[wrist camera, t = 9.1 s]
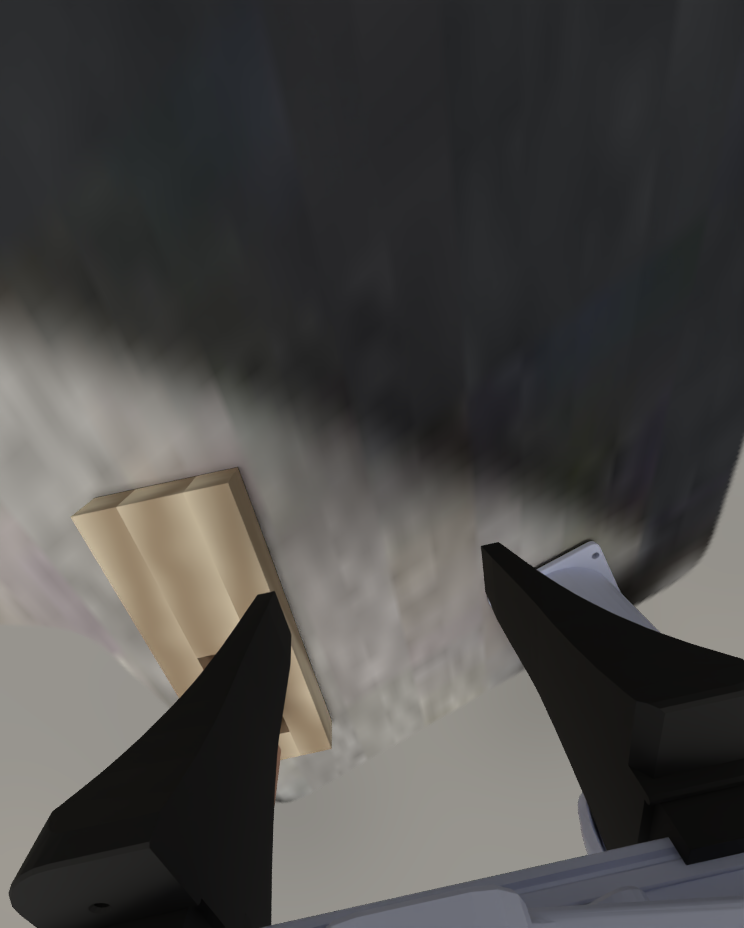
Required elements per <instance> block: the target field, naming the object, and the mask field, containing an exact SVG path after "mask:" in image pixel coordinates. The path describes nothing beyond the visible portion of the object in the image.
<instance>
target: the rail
mask: <svg viewBox="0 0 744 928" xmlns="http://www.w3.org/2000/svg"><path fill="white" fill-rule="evenodd" d="M71 518H72V520H73V522H74V523H75V525H76V527H77V528H78V530H79V532H80V533H81V535H82V537H83V538H84V540H85V542H86V543H87V545H88V547H89V548H90V550H91V552H92V553H93V555H94V557H95V558H96V560H97V562H98V563H99V565H100V567H101V568H102V570H103V572H104V573H105V575H106V577H107V578H108V580H109V582H110V583H111V585H112V587H113V588H114V590H115V592H116V593H117V595H118V597H119V598H120V600H121V602H122V604H123V605H124V607H125V609H126V610H127V612H128V614H129V615H130V617H131V619H132V620H133V622H134V624H135V625H136V627H137V629H138V630H139V632H140V634H141V635H142V637H143V639H144V640H145V642H146V644H147V645H148V647H149V649H150V650H151V652H152V654H153V655H154V657H155V659H156V660H157V662H158V664H159V665H160V667H161V669H162V670H163V672H164V674H165V675H166V677H167V679H168V680H169V682H170V684H171V685H172V687H173V689H174V690H175V692H176V694H177V695H178V697H179V698H180V697H181V696H182V695H183V694H184V692H185V691H186V690H187V689H188V688H189V687H190V686H191V685H192V683H193V682H194V681H195V680H196V679H197V677H198V676H199V675H200V674H201V673H202V671H203V670H204V669H205V667H206V666H207V665H208V664H209V662H210V661H211V660H212V658H213V657H214V656H215V654H216V653H217V652H218V651H219V649H220V648H221V647H222V645H223V644H224V642H225V641H226V640H227V638H228V637H229V635H230V634H231V632H232V631H233V630H234V628H235V627H236V625H237V624H238V622H239V621H240V619H241V618H242V616H243V615H244V613H245V612H246V610H247V609H248V608H249V606H250V605H251V603H252V602H253V600H254V599H255V597H256V596H257V595H258V594H263V593H267V592H272V591H275V593H276V595H277V598H278V600H279V603H280V606H281V608H282V611H283V613H284V616H285V619H286V621H287V624H288V627H289V629H290V632H291V634H292V635H291V665H290V672H289V678H288V685H287V691H286V698H285V704H284V710H283V717H282V723H281V729H280V735H279V744H278V745H279V747H280V749H281V757H280V760H283V759H287V758H292V757H296V756H301V755H305V754H310V753H315V752H319V751H324V750H328V749H331V748H332V720H331V718H330V715H329V712H328V710H327V707H326V704H325V701H324V699H323V696H322V693H321V691H320V688H319V685H318V683H317V680H316V677H315V675H314V672H313V669H312V666H311V664H310V661H309V658H308V656H307V653H306V650H305V648H304V645H303V642H302V639H301V637H300V634H299V631H298V629H297V626H296V623H295V621H294V618H293V615H292V613H291V610H290V607H289V604H288V602H287V599H286V596H285V594H284V591H283V588H282V586H281V583H280V580H279V577H278V575H277V572H276V569H275V567H274V564H273V561H272V559H271V556H270V553H269V551H268V548H267V545H266V542H265V540H264V537H263V534H262V532H261V529H260V526H259V524H258V521H257V518H256V515H255V513H254V510H253V507H252V505H251V502H250V499H249V497H248V494H247V491H246V489H245V486H244V483H243V480H242V478H241V475H240V472H239V470H238V467H236V468H232V469H227V470H223V471H218V472H213V473H209V474H204V475H199V476H195V477H190V478H186V479H181V480H176V481H172V482H167V483H162V484H158V485H153V486H149V487H144V488H139V489H135V490H130V491H125V492H121V493H116V494H111V495H107V496H102V497H98V498H94V499H93V500H91V501H90V502H89V503H88V504H86V505H85V506H84V507H83V508H81V509H80V510H79V511H78V512H76V513H75V514H74V515H72V516H71Z"/></svg>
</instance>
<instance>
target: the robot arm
mask: <svg viewBox="0 0 744 928" xmlns="http://www.w3.org/2000/svg"><path fill="white" fill-rule="evenodd" d="M481 551H482V561H483V572H484V582H485V592H486V594H487V597H488V602H489V604H490V606H491V607H492V609H493V611H494V613H495V616H496V618H497V620H498V622H499V624H500V625H501V627H502V629H503V631H504V633H505V634H506V636H507V638H508V640H509V641H510V643H511V645H512V647H513V648H514V650H515V652H516V654H517V655H518V657H519V659H520V660H521V662H522V664H523V666H524V667H525V669H526V671H527V673H528V674H529V676H530V678H531V680H532V681H533V683H534V685H535V687H536V689H537V691H538V693H539V695H540V697H541V699H542V701H543V703H544V706H545V707H546V710H547V712H548V714H549V717H550V719H551V721H552V723H553V725H554V727H555V730H556V732H557V734H558V736H559V739H560V741H561V743H562V745H563V748H564V750H565V752H566V754H567V757H568V759H569V761H570V764H571V766H572V768H573V771H574V773H575V775H576V778H577V780H578V782H579V785H580V787H581V789H582V794H581V795H580V797H579V801H578V814H579V820H580V825H581V832H582V837H583V841H584V844H585V848H586V851H587V854H588V855H586V856H581V857H577V858H572V859H567V860H563V861H558V862H555V863H549V864H545V865H541V866H536V867H532V868H527V869H522V870H518V871H514V872H509V873H505V874H500V875H496V876H491V877H487V878H482V879H478V880H473V881H469V882H464V883H460V884H455V885H451V886H446V887H442V888H437V889H433V890H428V891H424V892H419V893H415V894H411V895H406V896H401V897H397V898H392V899H388V900H383V901H379V902H375V903H370V904H365V905H361V906H356V907H352V908H348V909H343V910H338V911H334V912H330V913H325V914H321V915H316V916H311V917H307V918H302V919H298V920H294V921H289V922H284V923H280V924H275V925H271V898H272V891H271V890H272V848H273V820H274V800H275V782H276V767H277V752H278V744H279V735H280V729H281V723H282V717H283V710H284V704H285V698H286V691H287V685H288V678H289V672H290V665H291V635H292V634H291V632H290V629H289V627H288V624H287V621H286V619H285V616H284V613H283V611H282V608H281V606H280V603H279V600H278V598H277V595H276V593H275V591H272V592H267V593H263V594H258V595H257V596H256V597H255V599H254V600H253V602H252V603H251V605H250V606H249V608H248V609H247V610H246V612H245V613H244V615H243V616H242V618H241V619H240V621H239V622H238V624H237V625H236V627H235V628H234V630H233V631H232V632H231V634H230V635H229V637H228V638H227V640H226V641H225V642H224V644H223V645H222V647H221V648H220V649H219V651H218V652H217V653H216V654H215V656H214V657H213V658H212V660H211V661H210V662H209V664H208V665H207V666H206V667H205V669H204V670H203V671H202V673H201V674H200V675H199V676H198V677H197V679H196V680H195V681H194V682H193V683H192V685H191V686H190V687H189V688H188V689H187V690H186V691H185V692H184V694H183V695H182V696H181V697H180V698H179V699H178V700H177V701H176V703H175V704H174V705H173V706H172V707H171V708H170V709H169V710H168V711H167V712H166V713H165V714H164V715H163V716H162V717H161V718H160V719H159V720H158V721H157V722H156V723H155V724H154V725H153V726H152V727H151V728H150V729H149V730H148V731H147V732H146V733H145V734H144V735H143V736H142V737H141V738H140V739H139V740H137V742H135V743H134V744H133V745H132V746H131V747H130V748H129V749H128V750H127V751H126V752H124V753H123V754H122V755H121V756H120V757H119V758H118V759H116V760H115V761H114V762H113V763H112V764H111V765H110V766H109V767H107V768H106V769H105V770H104V771H103V772H101V773H100V774H99V775H98V776H97V777H95V778H94V779H93V780H92V781H90V782H89V783H88V784H87V785H85V786H84V787H83V788H82V789H80V790H79V791H78V792H77V793H75V794H74V795H73V796H72V797H70V798H69V799H68V800H67V801H65V802H64V803H63V804H62V805H60V806H59V807H58V808H56V809H55V810H54V811H53V812H52V813H51V815H50V816H49V818H48V820H47V822H46V824H45V825H44V827H43V829H42V831H41V832H40V834H39V836H38V838H37V840H36V841H35V843H34V845H33V847H32V848H31V850H30V852H29V854H28V855H27V857H26V859H25V861H24V863H23V864H22V866H21V868H20V870H19V872H18V873H17V875H16V877H15V879H14V880H13V882H12V884H11V887H10V890H9V897H10V900H11V904H12V907H13V908H14V909H15V910H16V911H17V912H18V913H19V914H20V915H21V916H22V917H24V918H25V919H26V920H28V921H29V922H30V923H31V924H33V925H34V926H35V927H37V928H744V660H743V659H741V658H738V657H734V656H731V655H727V654H724V653H721V652H717V651H713V650H710V649H707V648H704V647H700V646H697V645H694V644H691V643H688V642H685V641H682V640H679V639H676V638H673V637H670V636H667V635H665V634H662V633H660V632H659V631H658V630H657V629H656V628H655V627H654V626H653V625H652V624H651V623H650V622H649V621H648V620H647V619H646V618H645V617H644V616H643V615H642V614H641V613H640V612H639V611H638V610H637V609H636V608H635V607H634V606H633V605H632V604H631V603H630V602H629V601H628V600H627V599H626V598H625V597H624V596H623V594H622V593H621V592H620V590H619V588H618V585H617V583H616V581H615V579H614V577H613V574H612V572H611V570H610V568H609V565H608V563H607V561H606V559H605V557H604V554H603V552H602V550H601V548H600V546H599V545H598V544H597V543H596V542H594V541H589V542H587V543H585V544H583V545H581V546H579V547H577V548H576V549H574V550H572V551H570V552H568V553H566V554H564V555H562V556H561V557H559V558H557V559H555V560H553V561H551V562H549V563H547V564H546V565H544V566H542V567H540V568H538V569H535V568H534V567H532V566H531V565H529V564H528V563H527V562H525V561H524V560H522V559H521V558H520V557H518V556H517V555H516V554H514V553H513V552H511V551H510V550H509V549H507V548H506V547H505V546H503V545H502V544H500V543H499V542H497V543H492V544H488V545H483V546H481ZM594 553H595V554H594ZM593 554H594V555H593Z"/></svg>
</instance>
